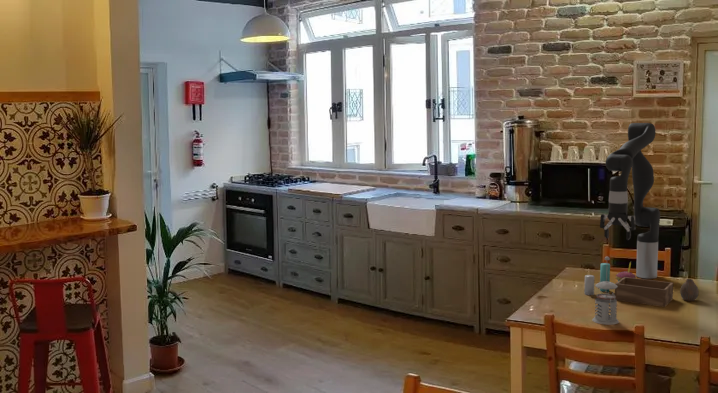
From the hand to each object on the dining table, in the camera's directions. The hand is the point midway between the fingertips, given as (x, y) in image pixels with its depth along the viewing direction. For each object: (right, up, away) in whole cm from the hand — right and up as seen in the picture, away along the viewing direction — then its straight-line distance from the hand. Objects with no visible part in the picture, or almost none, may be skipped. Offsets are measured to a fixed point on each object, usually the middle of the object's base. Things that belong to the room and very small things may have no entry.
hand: (617, 238), depth 305 cm
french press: (-16, -30, -33) cm, 47 cm away
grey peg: (-10, -24, +6) cm, 27 cm away
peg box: (+10, -25, -4) cm, 27 cm away
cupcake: (+10, -23, +17) cm, 30 cm away
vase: (+28, -25, -6) cm, 38 cm away
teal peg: (-2, -24, +11) cm, 26 cm away
